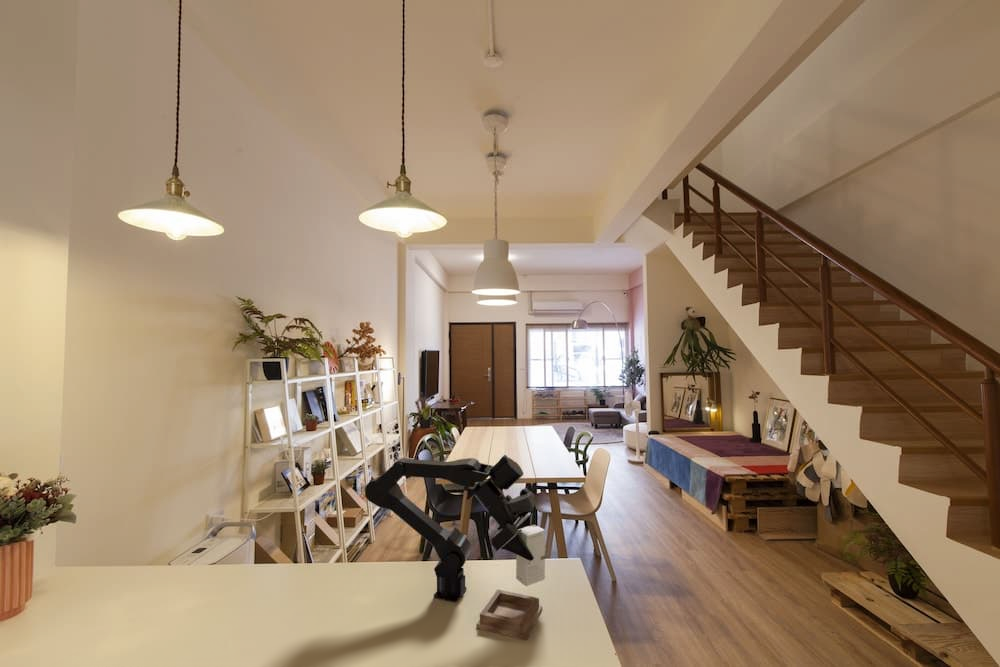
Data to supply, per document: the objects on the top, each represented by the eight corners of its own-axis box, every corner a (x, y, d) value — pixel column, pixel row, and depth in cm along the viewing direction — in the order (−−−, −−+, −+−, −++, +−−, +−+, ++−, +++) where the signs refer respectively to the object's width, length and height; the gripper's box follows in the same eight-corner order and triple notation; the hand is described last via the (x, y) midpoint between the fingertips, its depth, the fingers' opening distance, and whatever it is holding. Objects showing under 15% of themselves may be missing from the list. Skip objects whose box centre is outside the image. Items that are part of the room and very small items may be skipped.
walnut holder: (476, 627, 100) (476, 615, 100) (496, 598, 111) (496, 587, 111) (526, 640, 95) (526, 627, 95) (542, 608, 106) (542, 597, 107)
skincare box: (526, 587, 105) (527, 536, 105) (515, 578, 108) (515, 529, 108) (546, 579, 108) (546, 530, 108) (534, 571, 112) (534, 523, 112)
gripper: (505, 493, 101) (551, 550, 97) (526, 471, 119) (566, 518, 115) (472, 523, 103) (516, 579, 100) (498, 497, 121) (536, 544, 117)
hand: (536, 552), depth 108 cm, fingers closed on skincare box, 7 cm apart
